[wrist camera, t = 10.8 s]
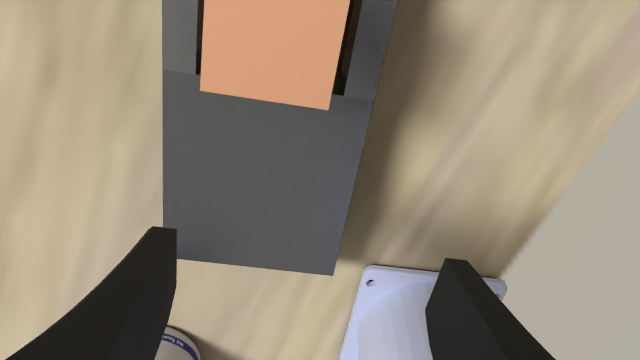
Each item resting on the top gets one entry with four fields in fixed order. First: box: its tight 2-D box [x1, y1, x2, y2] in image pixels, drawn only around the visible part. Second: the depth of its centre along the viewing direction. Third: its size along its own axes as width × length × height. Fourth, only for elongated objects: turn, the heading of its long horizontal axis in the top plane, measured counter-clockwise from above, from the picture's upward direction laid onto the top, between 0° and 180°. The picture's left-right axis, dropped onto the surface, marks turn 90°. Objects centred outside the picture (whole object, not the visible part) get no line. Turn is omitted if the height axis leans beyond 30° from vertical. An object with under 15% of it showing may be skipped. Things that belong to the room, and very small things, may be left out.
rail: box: [162, 0, 398, 276], centre depth 19 cm, size 24×8×2 cm, turn 171°
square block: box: [200, 0, 350, 110], centre depth 17 cm, size 4×4×6 cm
